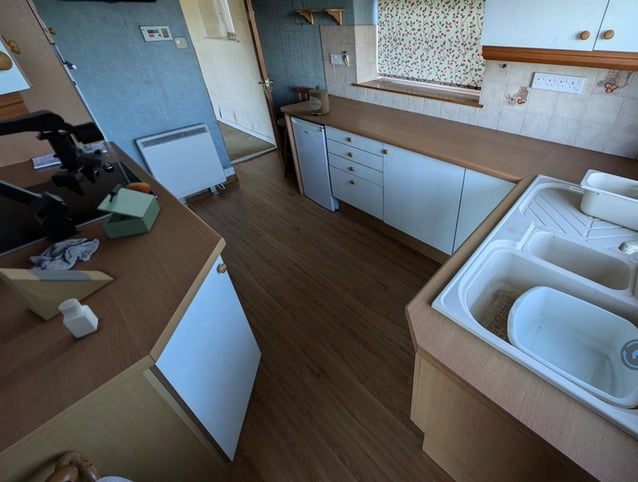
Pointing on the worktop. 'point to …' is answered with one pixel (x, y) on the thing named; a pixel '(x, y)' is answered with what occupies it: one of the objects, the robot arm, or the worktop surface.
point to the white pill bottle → (78, 318)
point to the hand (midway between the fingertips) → (89, 189)
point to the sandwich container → (52, 287)
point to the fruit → (139, 187)
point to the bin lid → (126, 202)
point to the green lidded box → (131, 222)
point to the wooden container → (319, 100)
